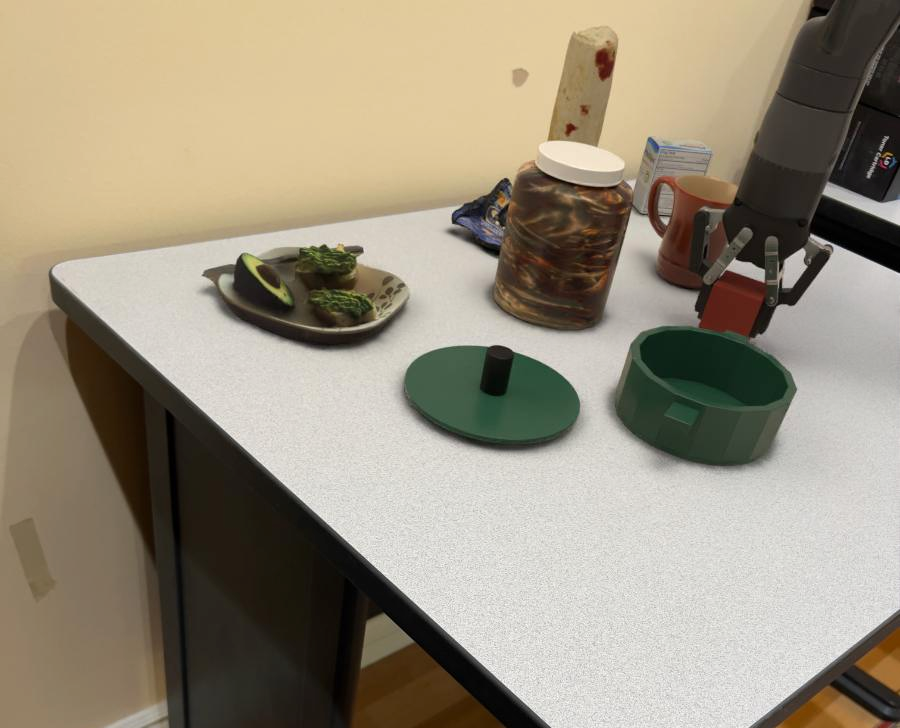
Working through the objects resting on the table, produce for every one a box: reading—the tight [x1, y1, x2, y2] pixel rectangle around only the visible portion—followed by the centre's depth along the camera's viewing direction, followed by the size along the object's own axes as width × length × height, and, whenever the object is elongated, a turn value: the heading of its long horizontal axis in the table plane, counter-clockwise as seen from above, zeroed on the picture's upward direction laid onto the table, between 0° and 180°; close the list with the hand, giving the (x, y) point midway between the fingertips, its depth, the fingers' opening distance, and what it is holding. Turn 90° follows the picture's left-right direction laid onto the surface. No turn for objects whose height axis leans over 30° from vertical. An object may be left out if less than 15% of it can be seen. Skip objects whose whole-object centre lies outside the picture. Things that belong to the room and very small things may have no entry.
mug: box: [647, 174, 739, 289], centre depth 103 cm, size 12×9×10 cm
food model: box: [546, 25, 619, 147], centre depth 113 cm, size 10×7×20 cm
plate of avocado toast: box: [200, 243, 411, 346], centre depth 87 cm, size 19×18×5 cm
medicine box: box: [632, 135, 714, 216], centre depth 119 cm, size 8×4×9 cm, turn 102°
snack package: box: [451, 177, 514, 252], centre depth 105 cm, size 12×6×12 cm
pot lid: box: [403, 344, 581, 445], centre depth 77 cm, size 16×16×5 cm
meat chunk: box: [697, 269, 765, 341], centre depth 92 cm, size 5×5×6 cm
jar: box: [492, 141, 634, 330], centre depth 90 cm, size 12×12×15 cm
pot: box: [614, 325, 798, 467], centre depth 79 cm, size 15×20×6 cm
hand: (727, 325), depth 93 cm, fingers closed on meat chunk, 5 cm apart
